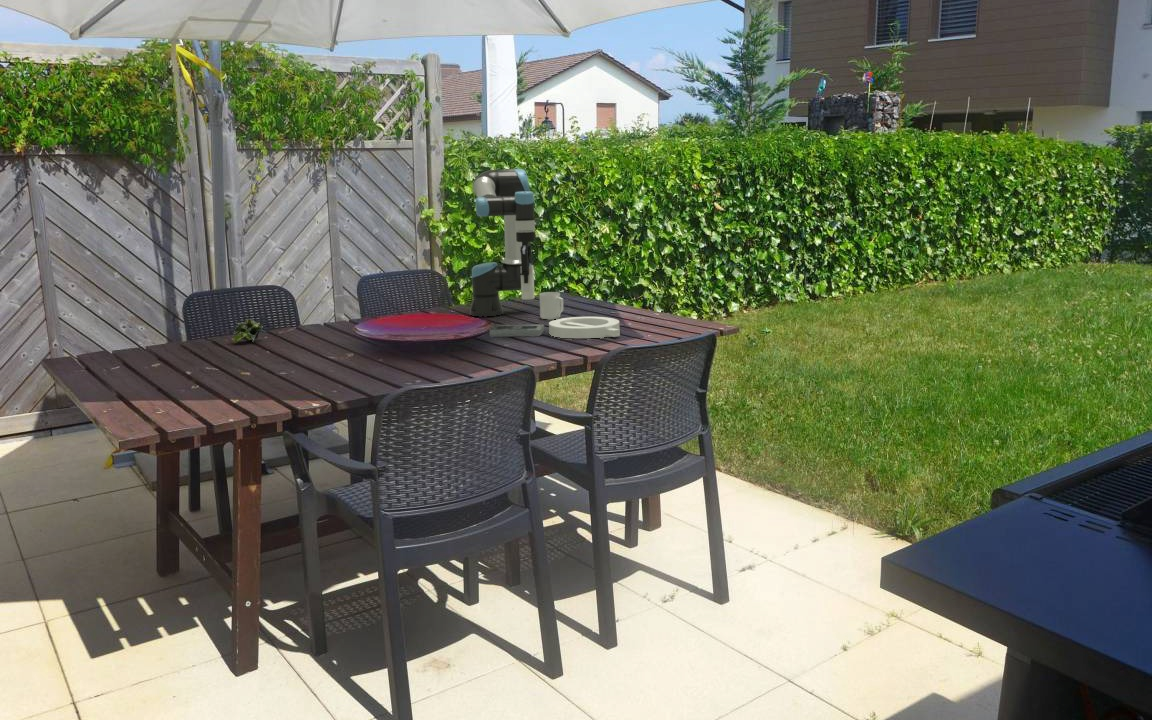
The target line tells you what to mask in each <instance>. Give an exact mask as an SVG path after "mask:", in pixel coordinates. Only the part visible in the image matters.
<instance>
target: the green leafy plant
mask: <svg viewBox="0 0 1152 720" xmlns="http://www.w3.org/2000/svg"><path fill="white" fill-rule="evenodd" d="M237 325H238V327H235V328H234V329H235V330H234V331H233V336H234V337H233V339H232V343H233V342H236V343H237V342H239V341H241V340H243V339H245V338H247V339H248V340H249V341H250V340H251V339H252V341H251V343H252V342H253V343H254V341H255V340H258V339H259V334H260V333H261V334H265V333H266V330H264V324H263V323H262V324H261V322H258V321H255V320H254V319H251V318H249V319H247V320H243V322H238V323H237ZM257 338H258V339H257Z"/></svg>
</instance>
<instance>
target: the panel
mask: <svg viewBox="0 0 1152 720" xmlns="http://www.w3.org/2000/svg"><path fill="white" fill-rule="evenodd" d="M543 331H544V332H545V324H536V323H535V324H495V325H493V327H492V328H491V329H490V330H489V337H490V338H491V337H492V338H493V337H494V338H496V337H499V338H500V337H502V338H503V337H506V338H511V337H514V338H515V337H541V336H540V335H542V334H543V333H544V332H543ZM542 332H543V333H542Z"/></svg>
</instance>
